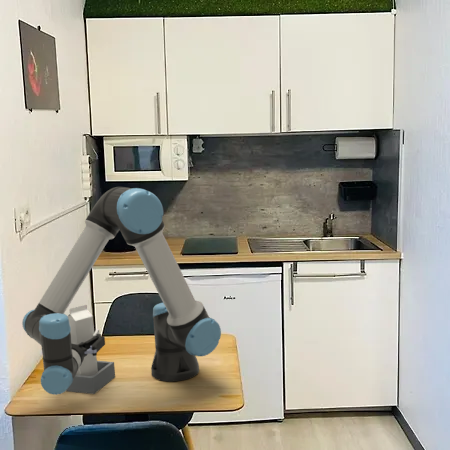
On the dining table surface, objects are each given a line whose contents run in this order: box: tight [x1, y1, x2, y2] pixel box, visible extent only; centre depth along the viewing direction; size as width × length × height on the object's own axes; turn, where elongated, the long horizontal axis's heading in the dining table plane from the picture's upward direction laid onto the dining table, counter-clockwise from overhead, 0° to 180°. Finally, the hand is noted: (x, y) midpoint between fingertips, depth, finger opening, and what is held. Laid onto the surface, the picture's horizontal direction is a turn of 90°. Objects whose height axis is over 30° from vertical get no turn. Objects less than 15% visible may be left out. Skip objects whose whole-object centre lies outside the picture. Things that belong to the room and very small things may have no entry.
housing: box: [65, 360, 116, 395], centre depth 193 cm, size 13×13×5 cm
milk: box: [67, 304, 98, 376], centre depth 191 cm, size 6×6×22 cm
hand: (83, 333), depth 194 cm, fingers closed on milk, 8 cm apart
